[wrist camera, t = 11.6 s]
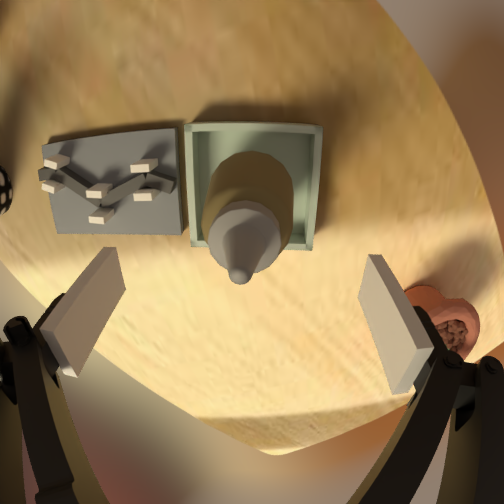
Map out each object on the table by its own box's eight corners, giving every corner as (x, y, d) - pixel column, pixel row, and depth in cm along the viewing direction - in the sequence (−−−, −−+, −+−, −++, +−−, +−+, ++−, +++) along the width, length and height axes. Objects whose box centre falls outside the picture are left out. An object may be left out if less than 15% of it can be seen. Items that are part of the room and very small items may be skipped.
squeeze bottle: (275, 133, 29) (290, 176, 13) (300, 204, 33) (333, 310, 17) (202, 161, 31) (137, 233, 15) (231, 227, 34) (205, 344, 18)
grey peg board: (47, 143, 30) (27, 150, 26) (178, 127, 29) (166, 131, 26) (61, 229, 35) (46, 243, 32) (184, 230, 35) (175, 246, 31)
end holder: (191, 122, 29) (184, 124, 26) (317, 124, 29) (323, 127, 26) (196, 234, 35) (190, 246, 33) (308, 238, 35) (312, 250, 32)
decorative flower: (468, 263, 36) (582, 424, 9) (442, 334, 42) (510, 486, 16) (381, 267, 36) (481, 493, 10) (363, 344, 43) (409, 531, 16)
